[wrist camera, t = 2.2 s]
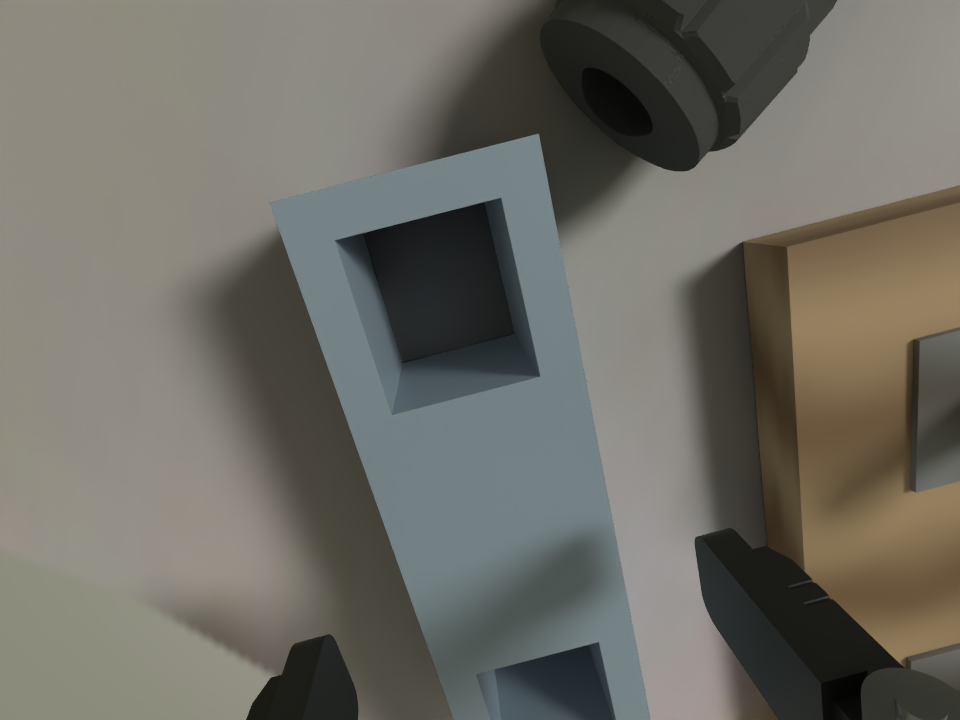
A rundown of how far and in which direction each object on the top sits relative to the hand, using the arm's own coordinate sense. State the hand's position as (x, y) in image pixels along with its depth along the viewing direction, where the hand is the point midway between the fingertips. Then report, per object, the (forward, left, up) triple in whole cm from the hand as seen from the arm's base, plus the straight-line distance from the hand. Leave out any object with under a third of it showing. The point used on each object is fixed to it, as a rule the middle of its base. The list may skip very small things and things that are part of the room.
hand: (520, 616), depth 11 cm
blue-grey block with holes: (0, 0, -6) cm, 6 cm away
